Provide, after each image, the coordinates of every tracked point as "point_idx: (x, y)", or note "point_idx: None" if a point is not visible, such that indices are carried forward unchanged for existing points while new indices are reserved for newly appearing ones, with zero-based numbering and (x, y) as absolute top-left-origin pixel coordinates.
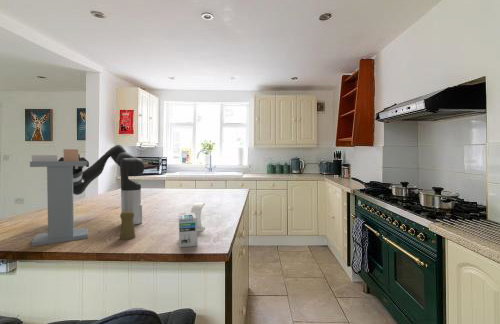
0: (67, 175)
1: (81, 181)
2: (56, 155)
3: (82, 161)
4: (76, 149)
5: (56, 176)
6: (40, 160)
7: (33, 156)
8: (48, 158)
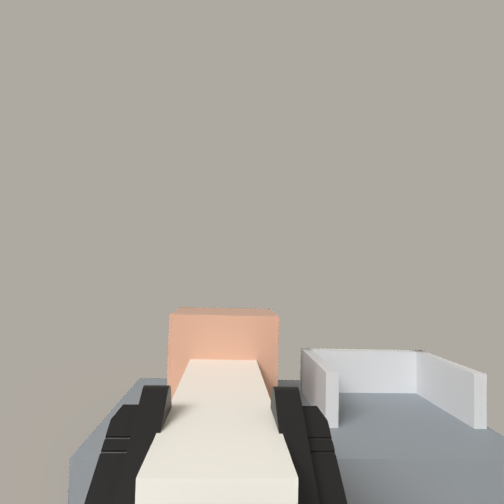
0: None
1: None
2: (302, 351)
3: (162, 379)
4: (191, 307)
5: None
6: (380, 383)
7: (413, 358)
8: (341, 370)
